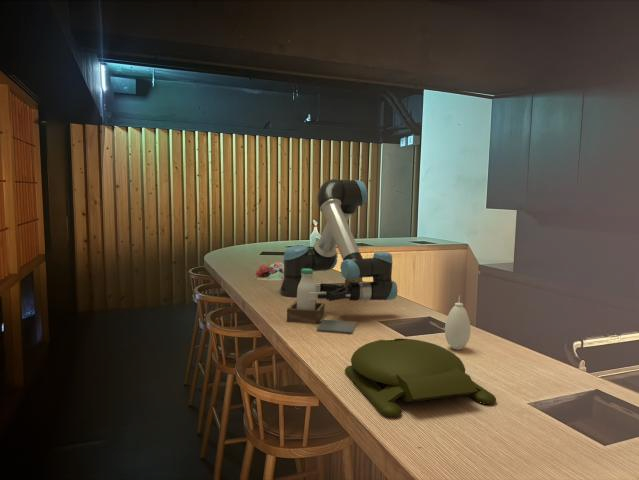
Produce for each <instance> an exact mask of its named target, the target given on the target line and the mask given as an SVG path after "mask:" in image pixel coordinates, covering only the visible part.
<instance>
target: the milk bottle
mask: <svg viewBox="0 0 639 480" xmlns="http://www.w3.org/2000/svg"><path fill="white" fill-rule="evenodd" d="M313 272H314V271H313V269H309V268H304V269H301V275H302V277H301V281H300V283H299V285H298V288H297V297H296V302H297V309H304V310H316V303H317V300H309V292H316V287H315V285H316V283H315V282H314V280H313V275H314V273H313Z"/></svg>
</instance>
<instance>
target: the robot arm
mask: <svg viewBox="0 0 639 480" xmlns="http://www.w3.org/2000/svg"><path fill="white" fill-rule="evenodd" d="M368 195H369V193H368V188H367V186H366V184H365V183H364V182H363V181H362V180H359V179H357V180H356V179H337V178H332V179H329V180H327V181H325V182H323V184H321V186H320V188H319V190H318V193H317V201H316V202H317V205H318V208H319V211H320V212H321V214H323V215H324V217H325V220H326V221H327V222H326V225H325V226H324V229H323V231H322V234H321V235H320V238H319V240H317V241H316V242H314V244H313V246H312V247H311V248H310V247H309V246H307V245H293V246H290V247H287V248H286V249H285V250H284V254H283V263H284V279H283V280H282V282H281V286H280V289H279V293H280V295H281V296H283V297H284V296H285V297H289V298H297V288H298V285H299V283H300V281H301V277H302V275H301V269H304V268H309V269H313V272H326V271H330V270H332V269H334V268H335V266H337V263H338V257H339V255H338V252H337V249H338V251H339V254H340V256H341V259H342V262H341V263H340V274H341V275H342V277H343V278H344V279H357V278H362V279H363V278H364V279H365V278H372V281H362V282H359V283H358V282H349V284H348V287H347V286H345V284H332V283H323V282H321V283H320V284H315V287H316V292H309V300H316V301H317V300H327V301H329V302H332V301H333V302H334V301H337V300H346V299H348V300H349V301H352V302H355V301H359V300H360V301H364V302H365V303H366V302H367V301H391V300H395V299H396V298H397V297H398V285H397V283H396V281H393V280H392V275H393V274H392V273H393V255H392V253H390V252H385V251H377V252H374V253H373V256H372V257H369V258H368V257H366V258H363V256H362V253H361V251H360V249H359V247H358V245H357V242H356V240H355V236H354V235H353V232H352V231H351V229H350V226H349V224H348V221H349V219H350V216H351V215H353V214H355V213H356V212H357V210H358V208H359V207H362V206H363V207H364V206H365V205H366V203H367V201H368ZM336 248H337V249H336Z"/></svg>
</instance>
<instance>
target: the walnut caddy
mask: <svg viewBox="0 0 639 480" xmlns="http://www.w3.org/2000/svg"><path fill="white" fill-rule="evenodd" d="M325 308H326V307H325V303H324V302H323V303H322V302H316V310H304V309H297V300H295V301H294V302H292V304H290V305H289V307H287V308H286V322H288V323H290V322H291V323H301V324H312V325H313V324H314V325H315V324H316V325H320V323H321V322H322V321H323V318H324V317H325V313H326V312H325Z"/></svg>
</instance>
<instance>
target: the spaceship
mask: <svg viewBox="0 0 639 480" xmlns="http://www.w3.org/2000/svg"><path fill="white" fill-rule="evenodd" d="M350 364H351V365H349V366H347V367H345V369H344V373H345V374H346V375H347V376H348V377H349V379H350V380H351V381H352V382H353V384H355V385H356V387H358V389H359V390H360V391H361V393H363V395H364V396H365V397H366V398H367V399H368V400H369V401H370V403H371V404H372V405H373V406H374V407H375V409H376V410H377V411H378V412H379V413H380V414H381V415H382V416H383V417H386V418H391V419H392V418H398V417H399V416H401V415H402V413H403V410H402V408H401V406H400V405H398V404H397V402H396V401H397V399H399V398H401V399H402V400H403V402H405V403H410V402H411V403H412V402H418V401H425V400H435V399H442V398H443V399H444V398H450V397H458V396H467V395H468V396H469V397H470V398H471V399H473V400H475V401H476V402H477V401H478V402H477V403H479V402H481V403H484V404H483V405H485V404H491V405H494V404H496V402H497V398H496V396H495V395H494V394H493V393H491V392H490V391H488V390H486V389H485V388H484V387H482V386H480V385H479V384H478V383H476V382H475V381H474V380H473V379H472V378H471V376H470V375H469V374H468V373H466V367H465V364H464V363H463V361H462V360H461V358H460V357H458V356H457V355H456V354H455V353H453V352H452V351H450V350H449V349H446V348H445V347H443V346H441V345H438V344H436V343H432V342H430V341H429V342H428V341H425V340H419V339H414V338H413V339H412V338H394V339H379V340H374V341H371V342H368V343H365V344H364V345H362V346H360V347H358V348H357V349H356V350H355V351H354V353H352V355H351V358H350ZM377 382H378V383H381V384H385V385H387V386H385V387H384V388H383V389H382V387H381V386H380V385H379V384H377ZM481 403H480V404H481ZM493 403H494V404H493Z"/></svg>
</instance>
